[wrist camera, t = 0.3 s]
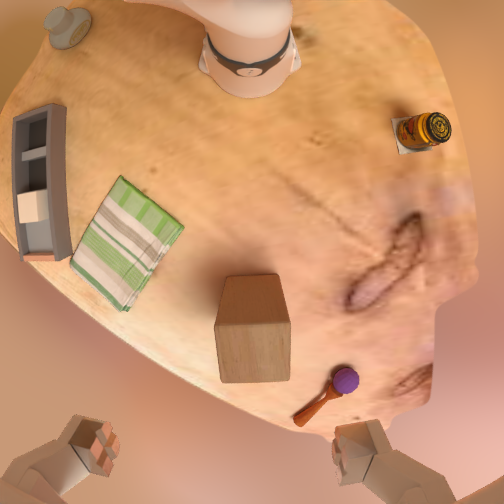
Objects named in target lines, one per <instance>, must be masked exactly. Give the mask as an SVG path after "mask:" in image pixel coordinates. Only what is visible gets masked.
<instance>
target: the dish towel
mask: <svg viewBox="0 0 504 504" xmlns="http://www.w3.org/2000/svg"><path fill="white" fill-rule="evenodd" d="M123 178H124V177H123V176H120V177H119V178H118V179H117V181H116V183H115V184H114V186H113V187H112V189H111V191H110V192H109V194H108V195H107V197H106V198H105V199H104V201H103V202H102V204H101V206H100V207H99V209H98V211H97V213H96V215H95V216H94V218H93V220H92V221H91V223H90V224H89V226H88V228H87V229H86V231H85V233H84V235H83V237H82V239H81V241H80V243H79V245H78V248H77V250H76V251H75V253H74V255H73V257H72V259H71V260H70V268H71V269H72V270H73V271H74V272H75V273H76V274H77V275H78V276H79V277H80V278H82V279H83V280H84V281H85V282H86V283H88V284H89V285H90V286H91V287H92V288H93V289H95V290H96V291H97V292H98V293H99V294H101V295H102V296H103V297H104V298H105V299H106V300H107V301H108V302H110V303H111V304H112V305H113V307H114V308H115V309H116V310H117V311H118V312H121V311H122V310H123V311H126V312H128V311H129V309H130V308H131V307H132V305H133V304H134V302H135V300H136V299H137V297H138V295H139V294H140V293H141V291H142V289H143V288H144V286H145V285H146V283H147V281H148V280H149V278H150V276H151V274H152V273H153V271H154V269H155V267H156V266H157V264H158V263H159V262H160V261H161V260H162V258H163V257H164V255H165V254H166V253H167V251H168V250H169V249H170V247H171V246H172V244H173V243H174V242H175V240H176V239H177V238H178V236H179V235H180V233H181V232H182V231H183V229H184V226H183V225H181V224H180V223H178V222H177V221H176V220H175V219H174V218H173V217H172V216H171V215H169V214H168V213H167V212H166V211H164V210H163V209H162V208H161V207H159V206H158V205H157V204H156V203H155V202H154V201H152V200H151V199H150V198H148V197H147V196H146V195H144V194H143V193H142V192H140V191H139V190H138V189H137V188H136V187H135V186H133V185H132V184H131V183H130V182H128V181H127V180H125V181H124V180H123Z"/></svg>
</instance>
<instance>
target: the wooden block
mask: <svg viewBox="0 0 504 504" xmlns="http://www.w3.org/2000/svg"><path fill="white" fill-rule="evenodd" d="M214 332H215V340H216V348H217V356H218V364H219V371H220V379H221V382H222V383H260V382H280V381H288V380H289V379H290V352H291V323H290V319H289V314H288V310H287V306H286V302H285V298H284V294H283V290H282V286H281V282H280V278H279V275H277V274H273V275H251V276H229V277H227V278H226V282H225V286H224V290H223V293H222V297H221V301H220V305H219V309H218V313H217V317H216V321H215V325H214Z"/></svg>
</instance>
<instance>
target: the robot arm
mask: <svg viewBox="0 0 504 504" xmlns="http://www.w3.org/2000/svg"><path fill="white" fill-rule="evenodd" d="M123 1H125V2H128V3H144V4H153V5H159V6H164V7H167V8H171V9H174V10H177V11H179V12H182V13H184V14H186V15H189V16H191V17H193V18H194V19H196V20H198V21H200V22H201V23H202V24H203V25H204V26H205V32H207V34H206V38H204V39H203V44H204V45H203V49H202V53H201V56H200V60H199V65H198V66H199V69H200V71H202V72H203V73H205V74H207V75H209V76H211V77H212V78H213V79H214V80H215V82H216V83H217V84H218V85H219V86H220V87H221V88H222V89H223V90H225V91H226V92H228V93H230V94H232V95H234V96H238V97H243V98H257V97H262V96H265V95H267V94H270V93H272V92H273V91H275V90H276V89H277V88H279V87H280V86H281V85H282V83H283V82H284V81H285V79H286V78H287V77H288V76H289V75H290V74H292V73H294V72H296V71H297V70H299V69H300V67H301V60H300V56H299V53H298V50H297V46H296V43H295V40H294V37H293V34H292V31H291V27H290V25H291V21H292V17H293V6H292V2H291V0H123ZM294 59H295V60H294ZM204 60H205V61H204ZM112 429H113V427H112V426H111V424H110V422H105V421H102V420H97V419H93V418H89V417H85V416H81V415H77V414H76V415H74V416H73V417H72V418H71V420H70V421H69V423H68V424H67V426H66V427H65V429H64V430H63V432H62V434H61V435H60V437H59V438H58V440H52V441H50V442H48V443H47V444H44V445H42V446H40V447H39V448H36V449H34V450H32V451H30V452H28V453H26V454H24V455H21V456H19V457H17V458H15V459H14V460H13V461H12V463H11V464H10V466H9V467H8V468H7V470H6V472H5V473H4V475H3V476H2V478H0V504H67V503H66V502H65V501H64V500H63V498H61V495H62V494H64V493H65V492H67V491H68V490H69V489H71V488H72V487H73V486H75V485H76V484H77V483H79V482H80V481H81V480H83V479H84V478H85V477H87V476H88V475H89V474H90V473H93V474H97V475H101V476H105V477H109V475H110V472H111V470H112V468H113V462H112V460H113V459H115V458H116V457H117V456H118V453H119V448H120V444H119V440H118V437H117V436H116V435H115V434H114V433H113V432H112ZM334 433H335V437H336V438H335V439H334V440H333V442H332V458H333V462H334V464H336V465H337V466H338V467H337V470H336V475H337V479H338V483H339V486H343V485H350V484H355V483H360V482H363V484H364V485H365V486H366V487H367V488H368V489H370V490H371V491H372V492H373V493H374V494H376V495H377V496H378V497H379V498H380V499H382V500H383V501H384V502H385V503H386V504H504V475H503V476H502V477H500V478H498V479H497V480H495V481H493V482H492V483H490V484H488V485H487V486H485V487H483V488H481V489H479V490H478V491H476V492H474V493H472V494H470V495H468V496H466V497H464V498H462V499H460V500H458V501H456V499H455V497H454V495H453V493H452V491H451V489H450V487H449V485H448V483H447V481H446V479H445V477H444V476H443V475H441V474H439V473H437V472H436V471H434V470H432V469H430V468H428V467H426V466H424V465H423V464H421V463H419V462H417V461H416V460H414V459H412V458H410V457H409V456H407V455H405V454H403V453H402V452H400V451H398V450H392V447H391V445H390V443H389V441H388V439H387V436H386V434H385V432H384V430H383V427H382V425H381V423H380V421H379V420H378V419H374V420H369V421H364V422H358V423H352V424H346V425H340V426H337V427H336V428H335V432H334Z"/></svg>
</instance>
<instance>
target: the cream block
mask: <svg viewBox="0 0 504 504" xmlns="http://www.w3.org/2000/svg"><path fill="white" fill-rule="evenodd" d="M17 199H18V211H19V221H20V223H29V222H38V221H42V220H46V219H49V210H48V197H47V190H42V191H35V192H30V193H24V194H19V195H17Z"/></svg>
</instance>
